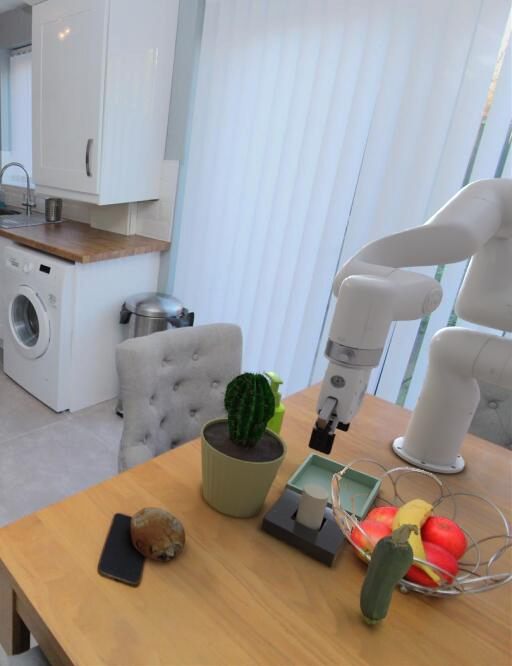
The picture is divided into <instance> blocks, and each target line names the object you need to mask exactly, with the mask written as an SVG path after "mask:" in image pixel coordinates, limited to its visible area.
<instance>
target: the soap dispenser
mask: <svg viewBox="0 0 512 666" xmlns="http://www.w3.org/2000/svg"><path fill="white" fill-rule="evenodd" d="M263 372H264V373H265V374H266V375H265V376H267V378H268V380H270V382H271V383H270V384H271V386H270V387H271V389H272V392H276V394H275V393H273V394H275V395H274V396H276V397H275V399H276V400H275V403H277V404H275V412H274V413H275V414H276V415H274V417H272V418H271V419H270V421H271V422H270V421H268V423H267V424H268V425H269V427H268V426H267V428H269V429H271V430H272V431H274V432H275V433H277V434H278V435H279V436H280V435H281V430H282V426H283V421H284V416H285V412H286V406H285V405H284V404H283V403H281V400H282V395H283V393H282V391H280V390H279V389H280V385H283V384H284V381H283V380H282V378H281V377H280V376H279V375H278V374H277V373H275V372H273V371H263ZM264 373H263V374H264ZM272 382H273V384H272ZM274 382H275V383H274ZM274 389H277V390H274ZM277 395H278V396H277ZM279 403H281V404H279ZM276 407H277V408H276ZM276 410H277V411H276ZM276 412H277V413H276ZM272 421H273V422H274V423H273V422H272Z"/></svg>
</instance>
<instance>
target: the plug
mask: <svg viewBox="0 0 512 666" xmlns="http://www.w3.org/2000/svg"><path fill="white" fill-rule="evenodd" d="M328 498H329V493H328V492H327V491H326V490H325V489H324V488H322V487H320V486H318V485H314V484H307V485H305V486H304V488H303V492H302V496H301V500H300V504H299V508H298V512H297V516H296V519H295V520H294V521H296V522H298V523H300V524H302V525H304V526H306V527H308V528H310V529H312V530H314V531H316V532H318V533H319V532H320V530H321V529H320V527H321V523H322V520H323V516H324V513H325V509H326V505H327V502H328Z"/></svg>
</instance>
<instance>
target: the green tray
mask: <svg viewBox="0 0 512 666" xmlns="http://www.w3.org/2000/svg"><path fill="white" fill-rule="evenodd" d="M347 466H348V465H346V464H343V463H340V462H338V461H336V460H333V459H330V458H328V457H326V456H324V455H320V454H318V453H316V452H313V451H311V452H310V453H309V455H307V457H306V459H304V461H303V462H302V463H301V464H300V466H299V467H298V468H297V470H295V472H294V473H293V474H292V475H291V477H290V478H289V479H288V481H287V482H286V483H285V487H284V492H285V491H286V489H289V490H291V491H294V492H296V493H298V494H300V495H302V492H303V488H304V486H305V485H307V484H314V485H318V486H320V487H322V488H324V489H325V490H326V491H327V492H328V493H329V498H328V502H327V505H326V507H328V508H331V509H332V502H331V494H330V490H331V481H332V478H333V475H334V474H335V473H338V472H340V471H342V470H343V469H344V468H345V467H347ZM348 467H349V468H348V469H347V470H346V471H345V473H343V475H342V479H340V480H339V483H340V502H341V507H342V508H343V509H344V510H345V511H346V512H347V513H348V514H349V515H350V516H351V515H352V514H353V511H352V503H351V499H350V496H353V497H354V496H355V495H357V494H361V495H358V496H355V497H354V507H355V517H356V518H357V520H358V521H359V522H360V521H361V520H363V521H364V519H365V517H366V515H368V512H369V510H370V508H371V506H372V505H373V503H374V501H375V499H376V497H377V496H378V494H379V492H380V489H381V486H382V483H383V479H381V478H379V477H376V476H374V475H372V474H369V473H366V472H363V471H361V470H359V469H356V468H354V467H351V466H348ZM345 483H346V484H347V486H348V489H349V490H348V489H347V487H346V485H345ZM334 490H335V489H334ZM284 492H283V493H284ZM334 494H335V491H334ZM362 494H368V495H362ZM369 495H370V496H369ZM334 496H335V495H334ZM373 496H376V497H375V498H374V497H373Z"/></svg>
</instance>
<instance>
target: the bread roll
mask: <svg viewBox="0 0 512 666" xmlns="http://www.w3.org/2000/svg"><path fill="white" fill-rule="evenodd" d="M129 527H130V530H129V531H130V537H131V542H132V545H133V547H134V548H135V549H136V550H137V551H138V553H140V554H141V555H142V556H144V557H145V558H147V559H151V560H156V561H159V562H168V561H171V560H172V559H174V558H175V557H177V556H179V555H180V553H181V552H182V551H183V549H185V544H186V533H185V527H184V525H183V523H182V522H181V521H180V519H179V518H178V517H176V516H175V515H174V514H172V513H171V512H169V511H168V510H165V509H163V508H159V507H154V506H145V507H144V508H141V509H140V510H139V511H137V512H136V513H135V514H134V515H133V516H132V517H131V519H130V524H129Z"/></svg>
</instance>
